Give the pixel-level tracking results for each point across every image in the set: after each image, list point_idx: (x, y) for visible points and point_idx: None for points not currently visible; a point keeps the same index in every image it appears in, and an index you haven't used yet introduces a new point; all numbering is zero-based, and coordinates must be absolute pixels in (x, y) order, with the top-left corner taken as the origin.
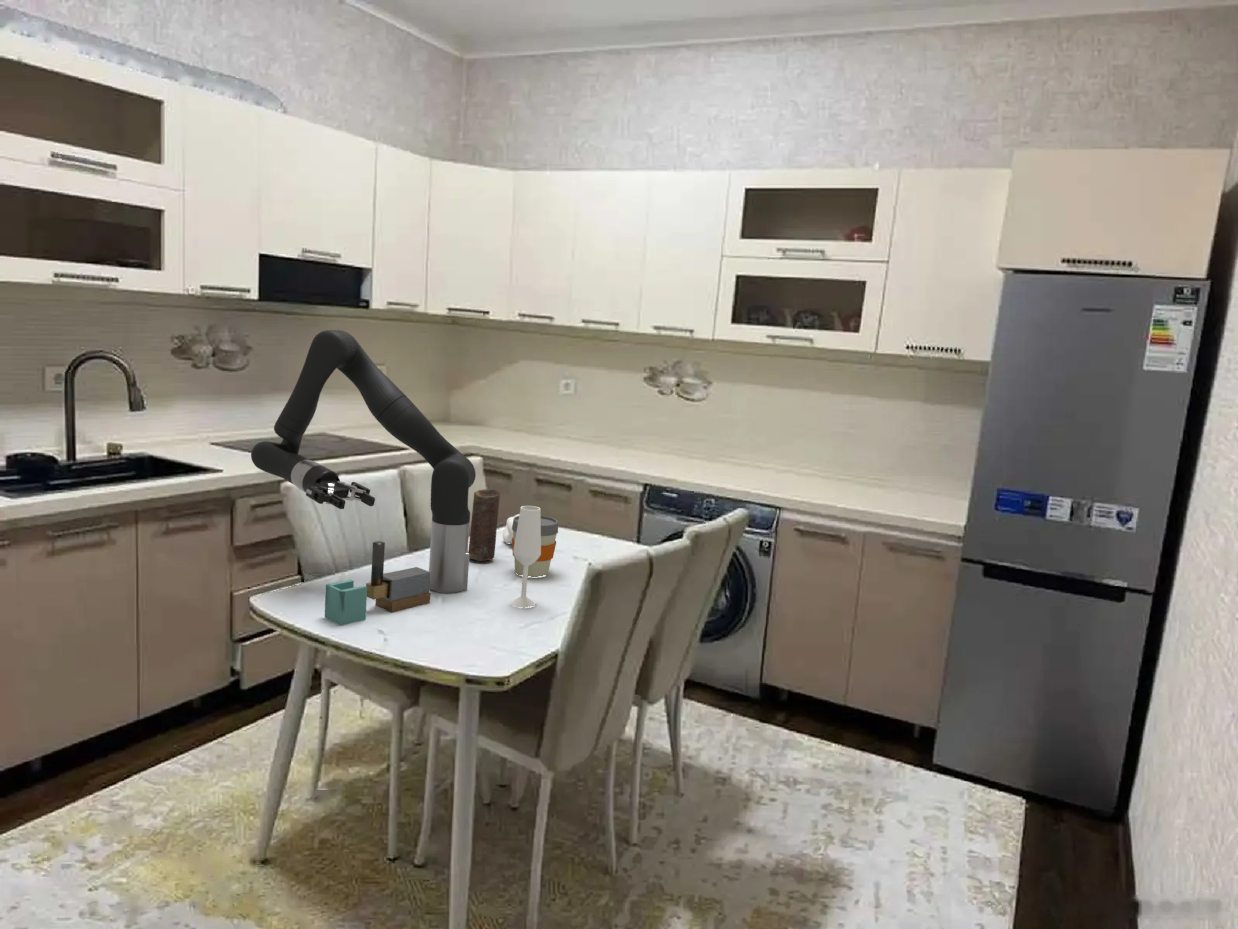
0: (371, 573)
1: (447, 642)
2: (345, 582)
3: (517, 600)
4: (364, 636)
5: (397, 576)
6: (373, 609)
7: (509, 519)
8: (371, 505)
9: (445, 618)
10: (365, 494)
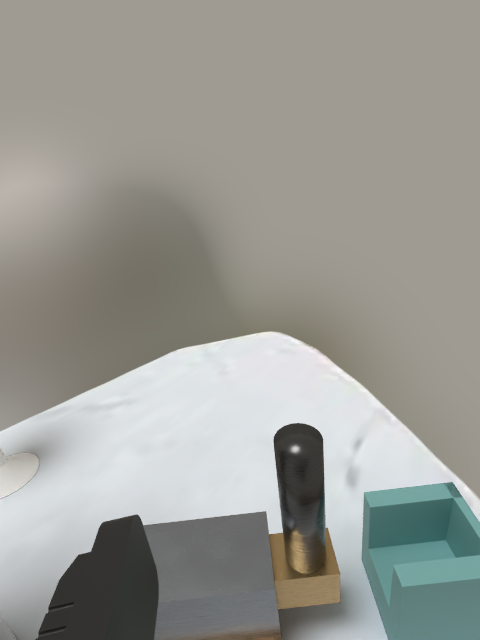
0: (325, 532)
1: (266, 401)
2: (429, 562)
3: (15, 468)
4: (395, 470)
5: (226, 537)
6: (307, 631)
7: None
8: (155, 570)
9: (191, 479)
10: (108, 637)
